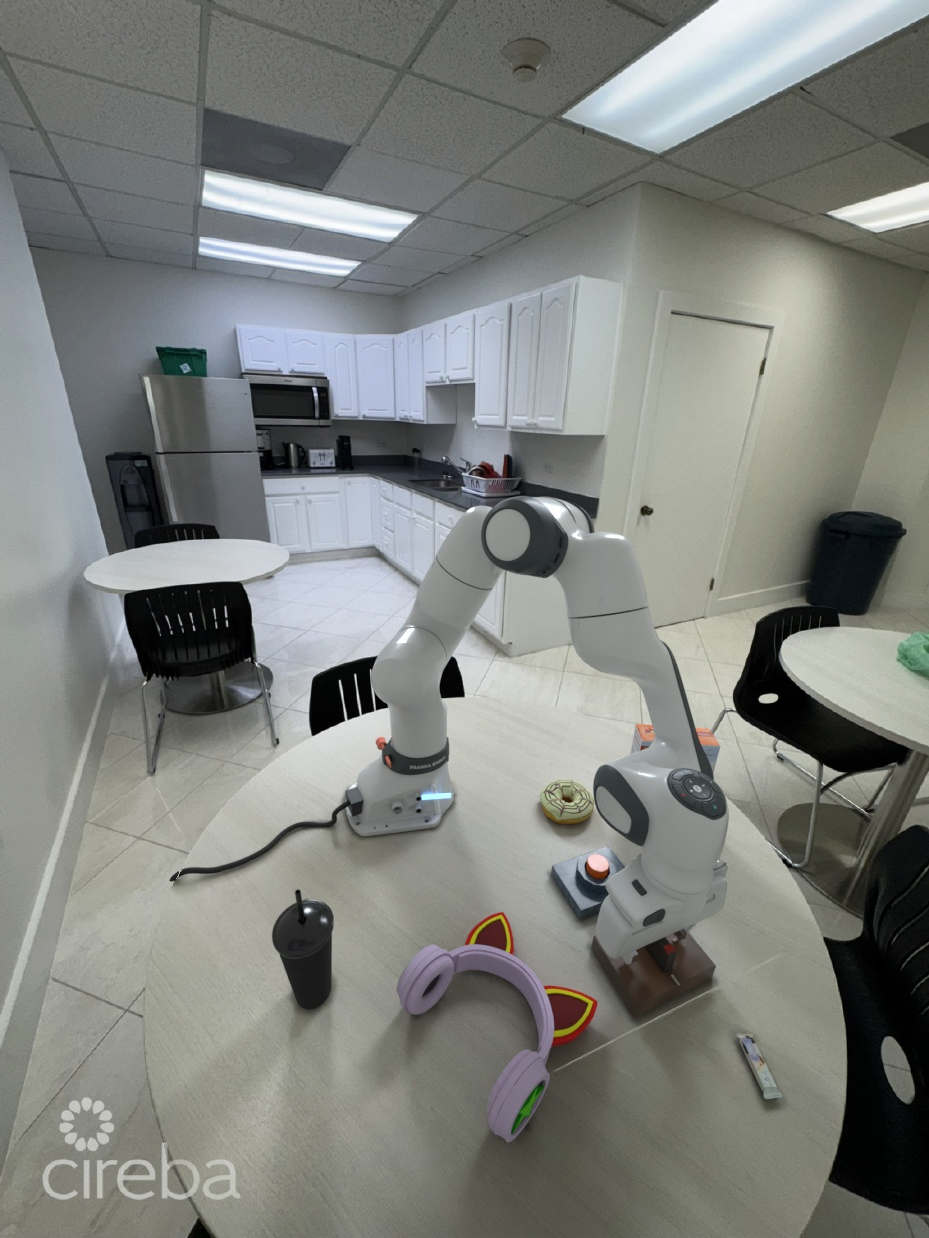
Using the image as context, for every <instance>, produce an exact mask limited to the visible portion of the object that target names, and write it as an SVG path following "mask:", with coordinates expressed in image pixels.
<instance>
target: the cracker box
mask: <svg viewBox="0 0 929 1238" xmlns="http://www.w3.org/2000/svg"><path fill="white" fill-rule="evenodd" d="M695 728H696V731H697V735H698V738H699V740H700V743H701V745H702V747H703V749H704V751H705V753H706V755H707V757H708V760H709V762H710V764H711V767H712V770H713V774H714V772H715V769H716V765H717V760H718V757H719V754H720V750H721V745H720V743H719V741H718V740H717V738H716V737H715V735H714V734H713V732H712V730H711V729H710V728H703V727H702V728H701V727H695ZM654 737H655V733H654V729H653V726H652V724H645V723H643V724H642V723H635V725H634V732H633V737H632V743H631V748H630V754H629V755H631V754H633V753H636V752H639V751H641V750H644V749H646V748H649V747H650V745H651V744H652V743H653V740H654Z"/></svg>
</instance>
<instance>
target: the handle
mask: <svg viewBox="0 0 929 1238" xmlns="http://www.w3.org/2000/svg"><path fill="white" fill-rule="evenodd" d="M645 947H646V948H647V950H648V951H649V953H650V954H651V955H652V957H653V958H654V960H655V961H656V962H657V964H658V965H659V966H660V968H661V969H662V971H663V972H665V971H667V970H669V969H671V968H673V964H674V961H675V958H676V954H677V952H676V950H675V949H674V947H673V946H672V945H671V944H670V942H669V941H668V940H667V939H666V937H664V938H662V939H659V940H657V941H655V942H653V943H651V944H648V945H646V946H645Z"/></svg>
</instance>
